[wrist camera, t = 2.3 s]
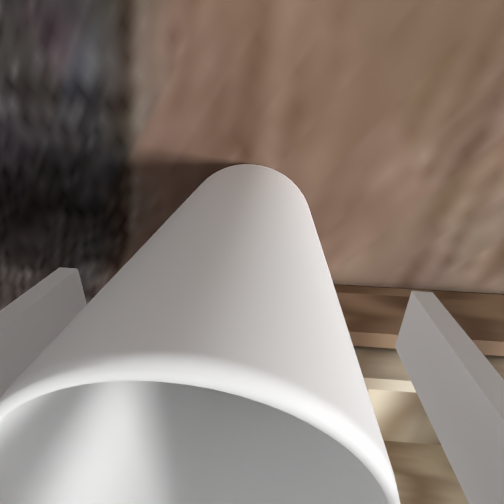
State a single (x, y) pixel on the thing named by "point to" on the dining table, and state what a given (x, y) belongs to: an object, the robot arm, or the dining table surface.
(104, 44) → the dining table surface
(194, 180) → the dining table surface
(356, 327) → the box
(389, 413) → the birch crate
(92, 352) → the cup
